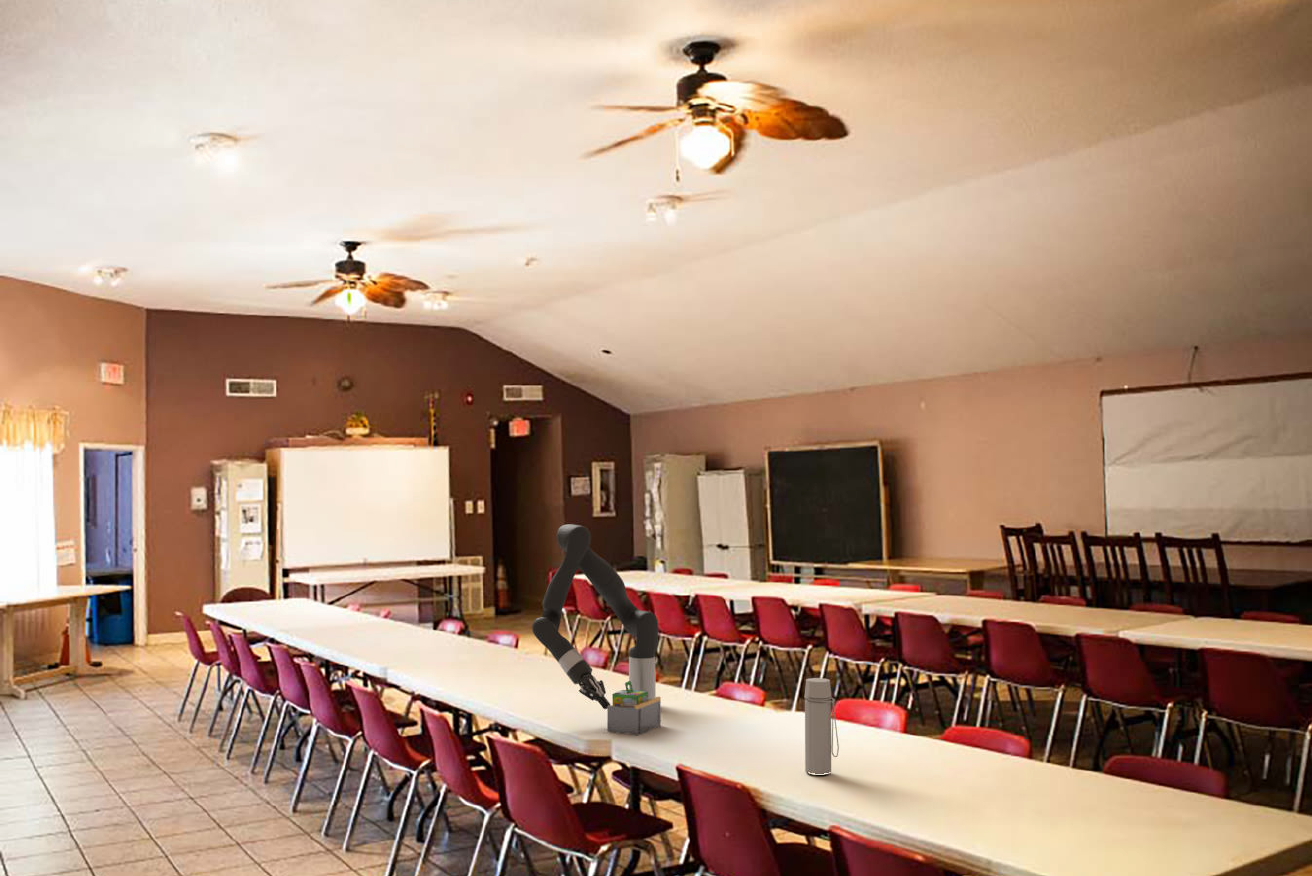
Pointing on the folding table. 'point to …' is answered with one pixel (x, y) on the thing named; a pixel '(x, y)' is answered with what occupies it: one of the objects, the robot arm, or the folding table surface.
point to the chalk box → (629, 697)
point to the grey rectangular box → (634, 717)
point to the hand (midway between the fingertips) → (607, 707)
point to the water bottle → (818, 726)
